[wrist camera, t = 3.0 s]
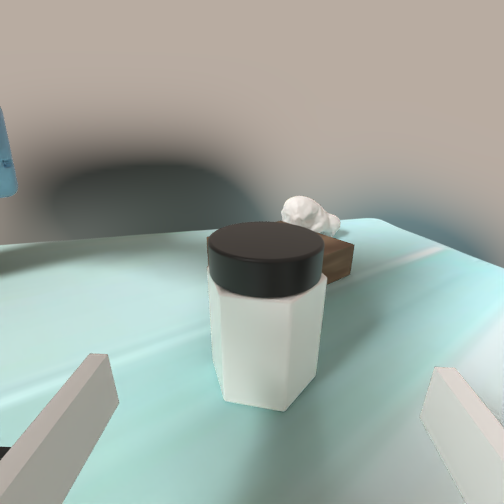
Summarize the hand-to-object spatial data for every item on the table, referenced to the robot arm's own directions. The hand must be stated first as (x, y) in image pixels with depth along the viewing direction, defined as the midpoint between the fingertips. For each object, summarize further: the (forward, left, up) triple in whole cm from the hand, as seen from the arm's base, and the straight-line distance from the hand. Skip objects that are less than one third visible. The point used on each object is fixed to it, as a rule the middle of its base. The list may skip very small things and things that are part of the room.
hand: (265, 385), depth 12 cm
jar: (-8, +6, -9) cm, 14 cm away
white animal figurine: (-28, +35, -9) cm, 46 cm away
